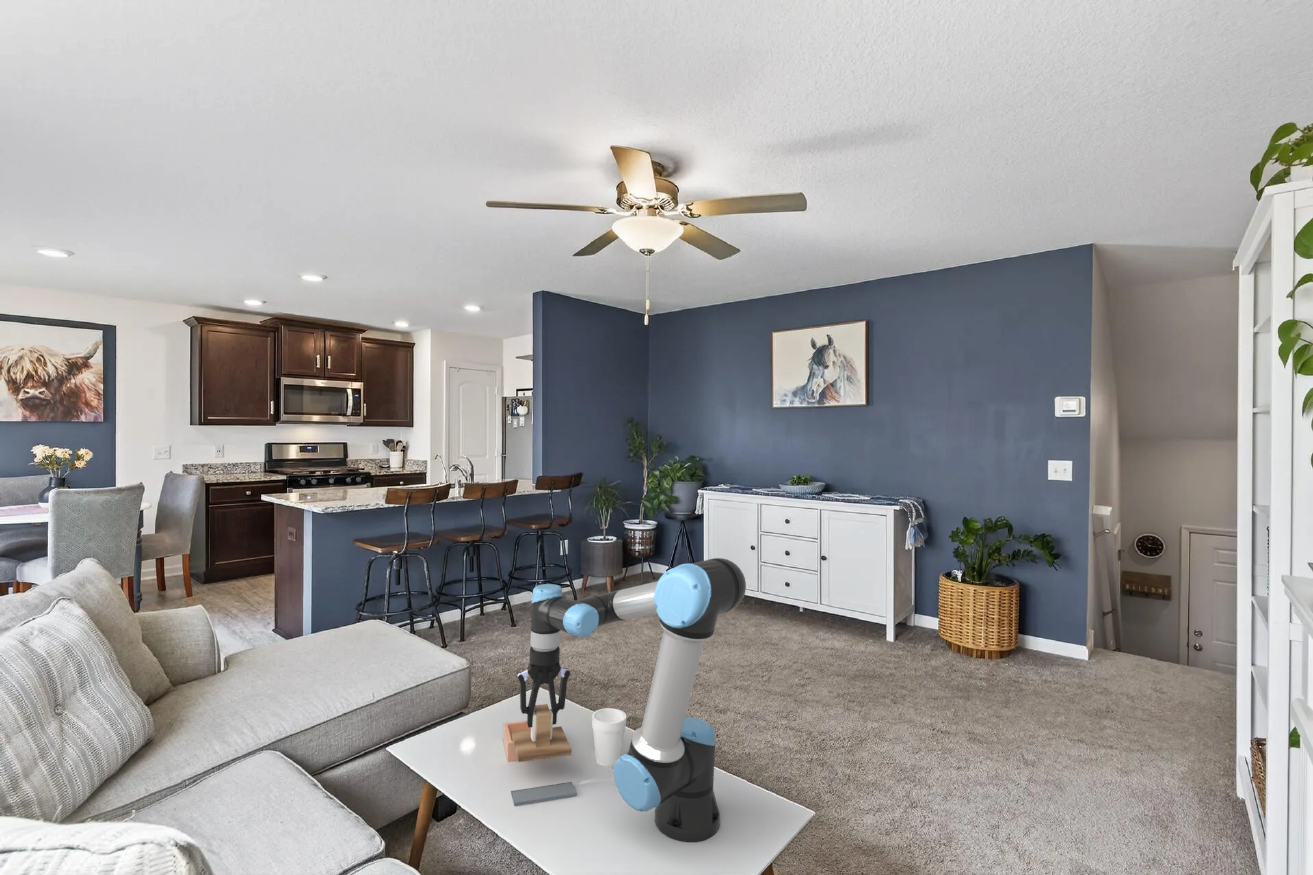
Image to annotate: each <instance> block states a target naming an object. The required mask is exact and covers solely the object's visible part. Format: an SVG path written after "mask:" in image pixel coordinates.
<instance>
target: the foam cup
mask: <svg viewBox="0 0 1313 875" xmlns="http://www.w3.org/2000/svg"><path fill="white" fill-rule="evenodd" d="M627 717H628V716H627V714H626V712H624V710H621V709H618V708H610V707H606V708H600V709H598V710H595V711H594V712H593V713H592V714H591V727H592V733H593V734H592V735H593V736H592V737H593V744H594V745H593V746H594V758H595V762H596V763H597V765H600V766H603V767H611V769H613V770H614V766H615V763H616V761H617V760H618V759H619V758H620V757H621V756H622V750H623V749H622V748H623V744H624V737H625V731H626V726H627Z"/></svg>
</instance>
